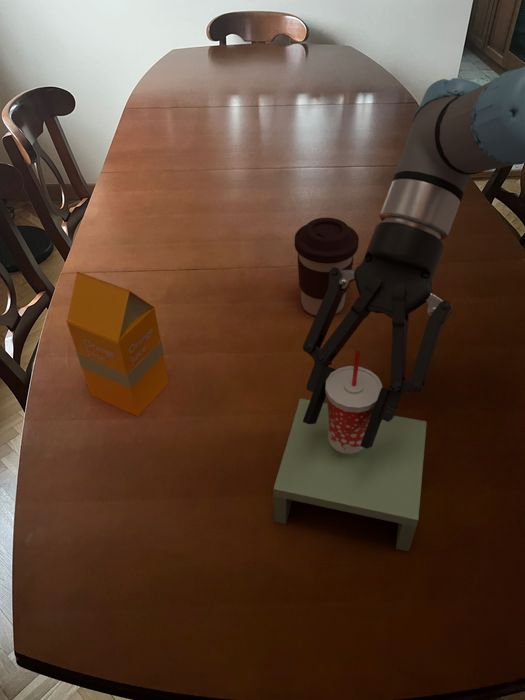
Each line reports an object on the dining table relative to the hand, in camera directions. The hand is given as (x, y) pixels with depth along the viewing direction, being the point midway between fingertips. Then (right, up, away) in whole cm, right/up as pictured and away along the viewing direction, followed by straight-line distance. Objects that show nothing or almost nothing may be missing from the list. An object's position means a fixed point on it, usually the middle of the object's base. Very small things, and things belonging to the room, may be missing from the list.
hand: (337, 433), depth 64 cm
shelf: (+3, -8, +10) cm, 14 cm away
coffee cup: (+2, +17, +37) cm, 41 cm away
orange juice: (-28, +3, +24) cm, 37 cm away
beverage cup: (+2, -1, +6) cm, 6 cm away
